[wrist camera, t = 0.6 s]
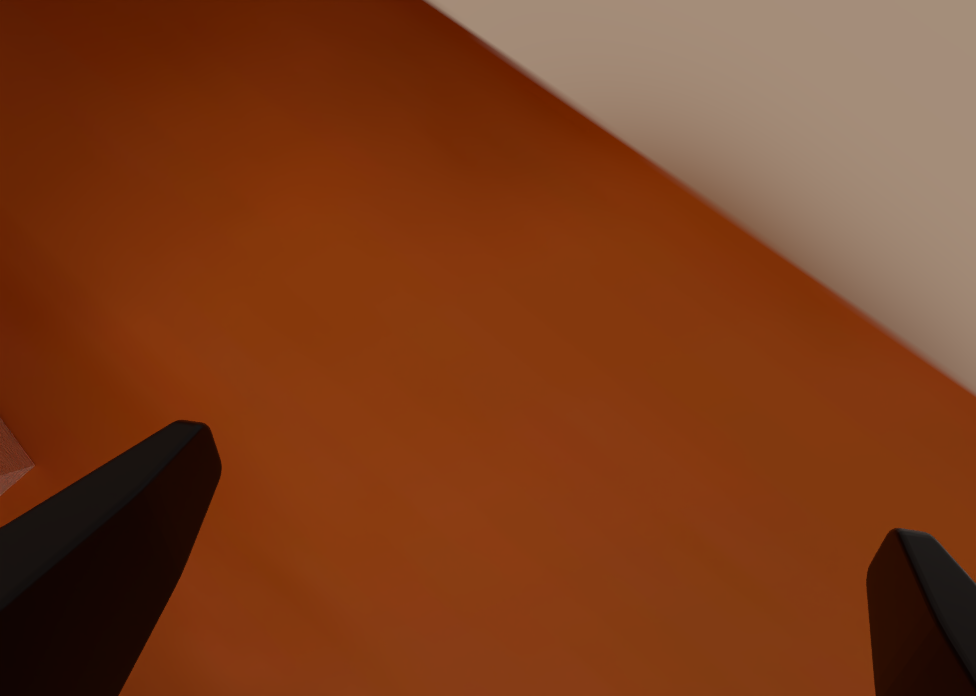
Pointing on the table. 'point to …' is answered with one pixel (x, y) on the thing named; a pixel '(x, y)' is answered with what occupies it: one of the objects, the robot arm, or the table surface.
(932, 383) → the table surface
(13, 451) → the cream block
